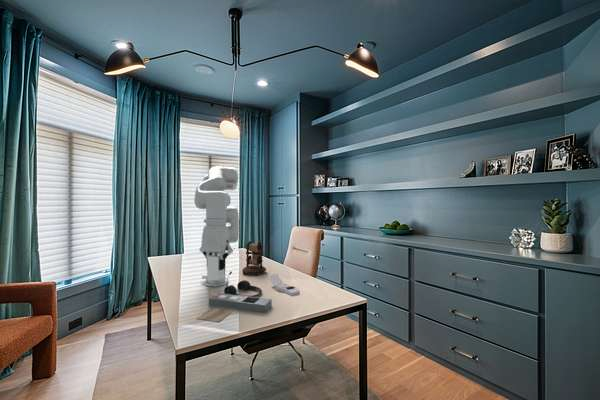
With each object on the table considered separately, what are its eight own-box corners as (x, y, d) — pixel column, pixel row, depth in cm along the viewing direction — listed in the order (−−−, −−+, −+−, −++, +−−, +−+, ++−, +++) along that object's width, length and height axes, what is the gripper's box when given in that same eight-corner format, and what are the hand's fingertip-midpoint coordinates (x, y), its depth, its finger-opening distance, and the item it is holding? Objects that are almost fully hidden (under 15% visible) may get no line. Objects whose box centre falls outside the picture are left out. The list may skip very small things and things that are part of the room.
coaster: (196, 321, 102) (196, 318, 102) (211, 311, 112) (211, 308, 112) (219, 324, 100) (219, 321, 100) (232, 313, 109) (232, 310, 109)
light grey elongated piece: (276, 273, 149) (303, 284, 129) (276, 283, 149) (303, 296, 129) (266, 275, 146) (292, 287, 126) (266, 286, 146) (293, 299, 126)
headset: (237, 268, 141) (268, 279, 131) (236, 286, 142) (266, 298, 132) (218, 275, 129) (250, 286, 120) (216, 294, 130) (248, 307, 120)
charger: (207, 279, 104) (207, 252, 104) (214, 276, 109) (214, 249, 109) (217, 280, 103) (217, 252, 103) (224, 277, 108) (224, 250, 108)
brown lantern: (269, 271, 175) (269, 240, 175) (259, 277, 161) (259, 243, 161) (249, 269, 179) (249, 239, 179) (237, 275, 165) (238, 242, 165)
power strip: (208, 307, 115) (208, 297, 115) (217, 301, 122) (218, 292, 122) (265, 315, 108) (265, 304, 108) (271, 308, 115) (271, 298, 115)
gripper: (191, 222, 105) (191, 269, 105) (230, 224, 100) (230, 273, 100) (203, 221, 112) (203, 265, 112) (240, 222, 107) (239, 268, 107)
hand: (216, 268), depth 106 cm, fingers closed on charger, 4 cm apart
